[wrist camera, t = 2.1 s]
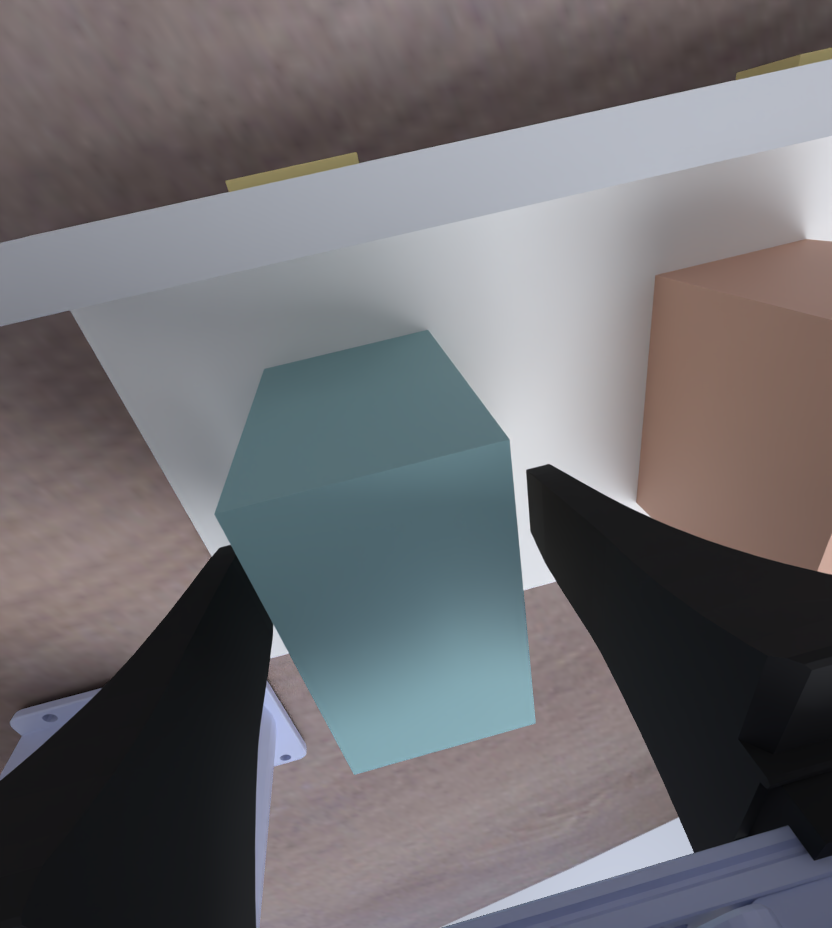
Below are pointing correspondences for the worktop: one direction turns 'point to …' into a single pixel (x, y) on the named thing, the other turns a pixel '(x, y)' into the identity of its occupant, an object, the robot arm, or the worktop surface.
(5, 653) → the worktop surface
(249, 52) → the worktop surface
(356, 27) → the worktop surface
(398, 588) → the teal carton
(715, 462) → the terracotta carton
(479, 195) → the shelf board
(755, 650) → the robot arm
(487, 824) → the worktop surface
